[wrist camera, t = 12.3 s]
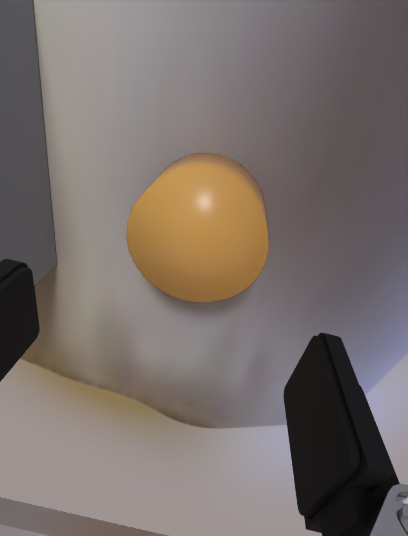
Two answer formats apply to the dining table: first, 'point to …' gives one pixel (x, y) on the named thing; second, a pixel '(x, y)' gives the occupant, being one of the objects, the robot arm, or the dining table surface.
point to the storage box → (23, 146)
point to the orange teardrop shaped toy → (200, 229)
